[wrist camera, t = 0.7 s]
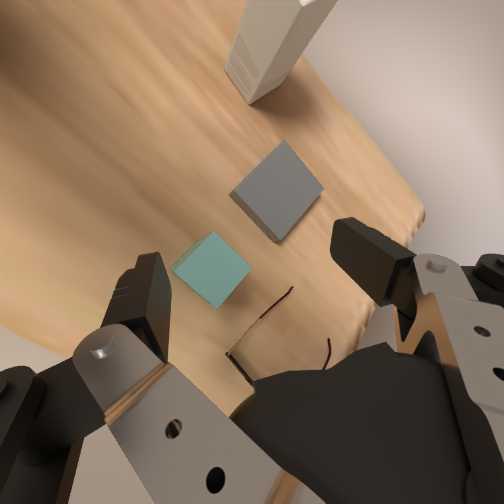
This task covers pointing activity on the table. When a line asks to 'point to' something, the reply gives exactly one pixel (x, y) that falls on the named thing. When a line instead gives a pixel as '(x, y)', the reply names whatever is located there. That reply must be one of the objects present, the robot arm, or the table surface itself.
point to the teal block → (211, 269)
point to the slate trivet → (277, 192)
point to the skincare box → (272, 42)
